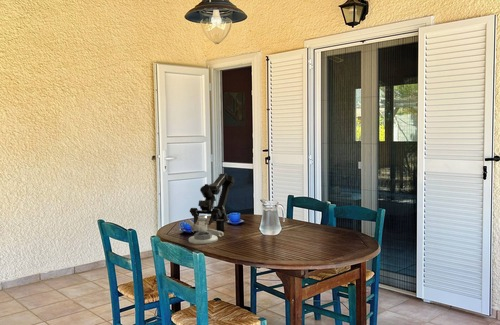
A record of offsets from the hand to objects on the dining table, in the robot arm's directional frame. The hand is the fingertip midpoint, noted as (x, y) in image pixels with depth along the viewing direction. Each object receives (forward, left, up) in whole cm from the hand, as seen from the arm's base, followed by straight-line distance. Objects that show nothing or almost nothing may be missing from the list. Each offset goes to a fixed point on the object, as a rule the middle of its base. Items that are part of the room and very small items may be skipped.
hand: (201, 224), depth 269 cm
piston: (-1, 0, -8) cm, 8 cm away
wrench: (-17, -5, -10) cm, 20 cm away
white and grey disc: (-1, 0, -10) cm, 10 cm away
